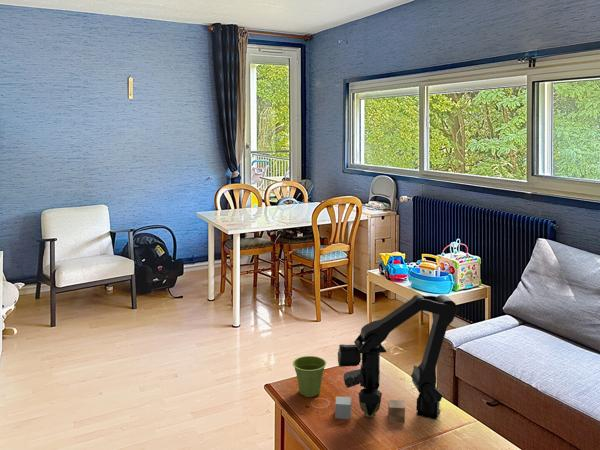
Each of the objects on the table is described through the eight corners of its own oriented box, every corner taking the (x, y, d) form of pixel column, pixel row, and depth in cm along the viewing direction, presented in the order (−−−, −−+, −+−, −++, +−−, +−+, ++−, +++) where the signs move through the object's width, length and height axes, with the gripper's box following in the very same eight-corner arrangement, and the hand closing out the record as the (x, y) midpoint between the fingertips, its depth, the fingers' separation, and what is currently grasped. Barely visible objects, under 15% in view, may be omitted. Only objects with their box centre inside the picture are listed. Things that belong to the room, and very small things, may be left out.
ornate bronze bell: (375, 424, 166) (375, 400, 165) (354, 418, 170) (354, 394, 168) (384, 414, 172) (385, 391, 171) (364, 408, 176) (364, 385, 175)
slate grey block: (351, 411, 174) (351, 397, 173) (350, 419, 169) (350, 404, 168) (336, 410, 175) (336, 396, 174) (335, 418, 170) (335, 403, 169)
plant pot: (287, 389, 190) (287, 359, 188) (316, 382, 195) (316, 353, 193) (302, 403, 179) (302, 372, 177) (332, 396, 184) (332, 365, 182)
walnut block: (403, 414, 172) (404, 400, 171) (404, 422, 167) (405, 408, 166) (388, 413, 173) (388, 399, 172) (388, 421, 168) (388, 407, 167)
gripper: (346, 351, 178) (346, 395, 181) (343, 376, 160) (343, 423, 163) (379, 353, 177) (378, 396, 179) (380, 378, 159) (379, 426, 161)
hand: (369, 410), depth 171 cm, fingers closed on ornate bronze bell, 6 cm apart
